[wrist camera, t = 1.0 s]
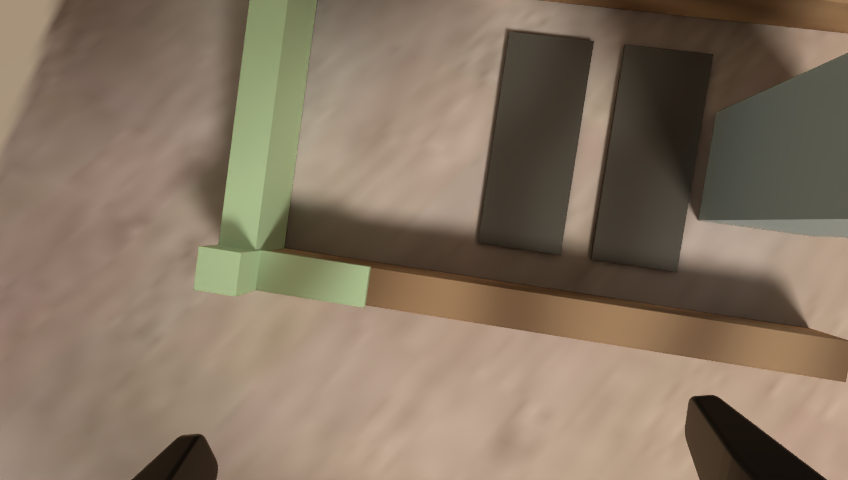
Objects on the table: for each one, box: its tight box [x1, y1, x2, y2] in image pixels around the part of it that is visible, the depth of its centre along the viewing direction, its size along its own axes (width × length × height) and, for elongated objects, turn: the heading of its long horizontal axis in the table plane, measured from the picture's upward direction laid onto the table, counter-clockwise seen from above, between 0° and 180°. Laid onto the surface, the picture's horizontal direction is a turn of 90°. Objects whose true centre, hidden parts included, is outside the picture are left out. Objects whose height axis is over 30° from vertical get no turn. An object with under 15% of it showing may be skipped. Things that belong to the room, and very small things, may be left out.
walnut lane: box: [256, 0, 848, 382], centre depth 21 cm, size 23×15×3 cm, turn 82°
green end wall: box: [194, 0, 317, 296], centre depth 21 cm, size 2×15×5 cm, turn 172°
